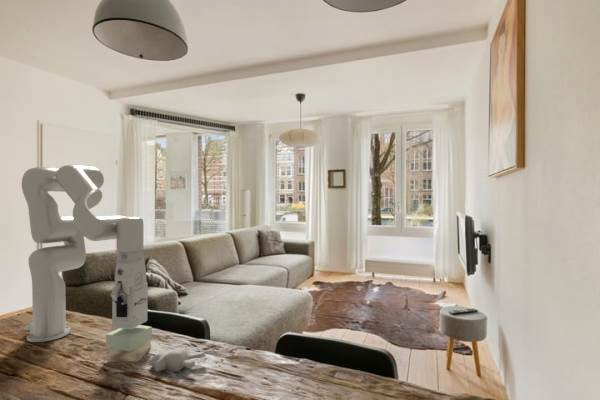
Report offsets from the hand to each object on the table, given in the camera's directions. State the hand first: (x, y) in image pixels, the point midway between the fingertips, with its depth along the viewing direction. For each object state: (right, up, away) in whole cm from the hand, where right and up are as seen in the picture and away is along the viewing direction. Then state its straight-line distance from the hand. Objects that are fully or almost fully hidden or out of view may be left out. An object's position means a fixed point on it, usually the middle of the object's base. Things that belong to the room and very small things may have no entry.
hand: (130, 311), depth 105 cm
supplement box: (0, -4, 0) cm, 4 cm away
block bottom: (0, -14, 0) cm, 14 cm away
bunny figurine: (+18, -14, -9) cm, 24 cm away
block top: (0, -10, 0) cm, 10 cm away
